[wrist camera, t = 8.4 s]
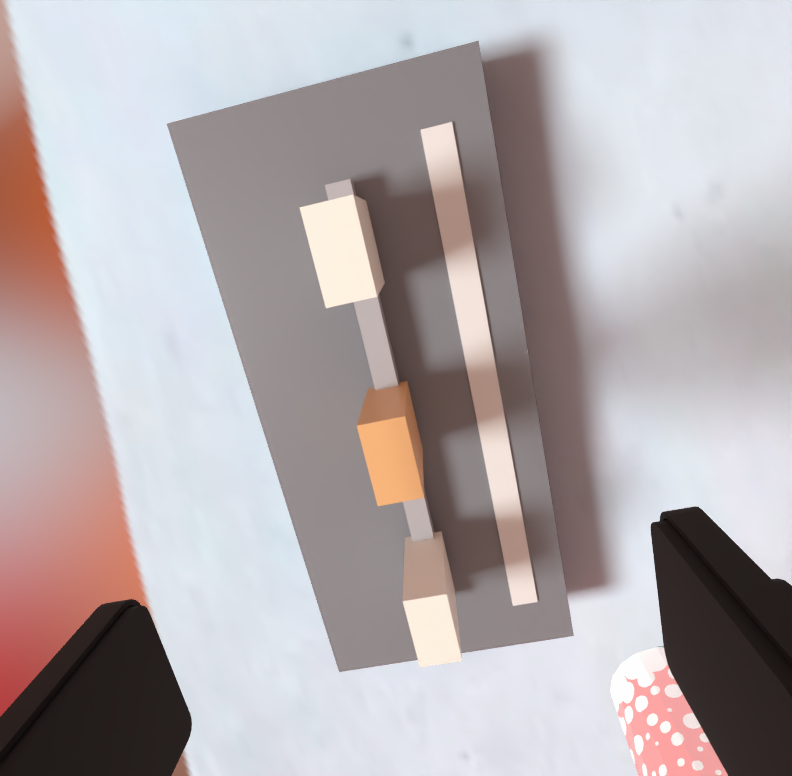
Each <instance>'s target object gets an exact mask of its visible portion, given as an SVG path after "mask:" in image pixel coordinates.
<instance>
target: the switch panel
mask: <svg viewBox="0 0 792 776" xmlns="http://www.w3.org/2000/svg"><path fill="white" fill-rule="evenodd" d="M167 126H168V129H169V132H170V135H171V138H172V142H173V145H174V148H175V151H176V154H177V158H178V161H179V164H180V167H181V170H182V173H183V177H184V180H185V183H186V186H187V189H188V192H189V196H190V199H191V202H192V205H193V208H194V212H195V215H196V218H197V221H198V224H199V227H200V231H201V234H202V237H203V240H204V243H205V247H206V250H207V253H208V256H209V259H210V262H211V266H212V269H213V272H214V275H215V278H216V282H217V285H218V288H219V291H220V294H221V297H222V301H223V304H224V307H225V310H226V313H227V317H228V320H229V323H230V326H231V329H232V332H233V336H234V339H235V342H236V345H237V348H238V351H239V355H240V358H241V361H242V364H243V367H244V371H245V374H246V377H247V380H248V383H249V386H250V390H251V393H252V396H253V399H254V402H255V406H256V409H257V412H258V415H259V418H260V421H261V425H262V428H263V431H264V434H265V437H266V441H267V444H268V447H269V450H270V453H271V456H272V460H273V463H274V466H275V469H276V472H277V475H278V479H279V482H280V485H281V488H282V491H283V495H284V498H285V501H286V504H287V507H288V510H289V514H290V517H291V520H292V523H293V526H294V530H295V533H296V536H297V539H298V542H299V545H300V549H301V552H302V555H303V558H304V561H305V565H306V568H307V571H308V574H309V577H310V580H311V584H312V587H313V590H314V593H315V596H316V600H317V603H318V606H319V609H320V612H321V615H322V619H323V622H324V625H325V628H326V631H327V634H328V638H329V641H330V644H331V647H332V650H333V654H334V657H335V660H336V663H337V666H338V669H339V672H342V671H348V670H355V669H361V668H368V667H374V666H381V665H387V664H394V663H400V662H407V661H413V660H418V658H417V654H416V651H415V647H414V643H413V639H412V635H411V632H410V628H409V624H408V620H407V616H406V612H405V609H404V605H403V578H404V551H405V538H406V537H411V533H410V529H409V525H408V521H407V517H406V513H405V509H404V505H403V502H399V503H393V504H388V505H382V506H378V505H377V502H376V498H375V494H374V490H373V486H372V483H371V479H370V475H369V471H368V467H367V463H366V460H365V456H364V452H363V448H362V444H361V441H360V437H359V433H358V429H357V423H358V420H359V416H360V413H361V410H362V406H363V403H364V400H365V396H366V393H367V390H368V389H369V388H374V383H373V379H372V375H371V371H370V367H369V363H368V359H367V355H366V351H365V347H364V343H363V339H362V334H361V330H360V326H359V322H358V318H357V314H356V310H355V306H354V302H352V303H347V304H343V305H338V306H334V307H329V308H326V307H325V303H324V299H323V295H322V292H321V288H320V284H319V280H318V276H317V272H316V269H315V265H314V261H313V257H312V253H311V250H310V246H309V242H308V238H307V234H306V230H305V227H304V223H303V219H302V215H301V211H300V207H304V206H308V205H312V204H316V203H320V202H324V201H328V197H327V193H326V188H325V185H327V184H331V183H335V182H339V181H343V180H347V179H351V180H352V181H353V183H354V187H355V192H356V196H357V197H359V198H361V199H363V200H365V201H366V202H367V207H368V211H369V215H370V220H371V224H372V229H373V233H374V237H375V242H376V246H377V250H378V255H379V259H380V264H381V268H382V272H383V277H384V281H385V284H384V285H383V287H382V289H381V291H380V293H379V295H380V299H381V304H382V308H383V312H384V317H385V321H386V325H387V330H388V334H389V338H390V342H391V347H392V351H393V355H394V360H395V364H396V368H397V373H398V377H399V381H400V382H403V381H407V382H408V386H409V391H410V395H411V400H412V404H413V408H414V413H415V417H416V422H417V426H418V430H419V435H420V439H421V444H422V448H423V476H424V489H425V493H426V498H427V502H428V506H429V510H430V515H431V519H432V523H433V528H434V532H439V531H442V536H443V540H444V544H445V549H446V553H447V558H448V562H449V566H450V571H451V575H452V580H453V584H454V588H455V597H456V607H457V616H458V626H459V635H460V645H461V653H465V652H472V651H478V650H485V649H491V648H498V647H504V646H511V645H517V644H524V643H530V642H537V641H543V640H550V639H556V638H563V637H569V636H573V629H572V623H571V617H570V611H569V604H568V598H567V592H566V586H565V579H564V573H563V567H562V561H561V554H560V548H559V542H558V536H557V529H556V523H555V517H554V510H553V504H552V498H551V492H550V485H549V479H548V473H547V467H546V460H545V454H544V448H543V442H542V435H541V429H540V423H539V417H538V410H537V404H536V398H535V392H534V385H533V379H532V373H531V367H530V360H529V354H528V348H527V341H526V335H525V329H524V323H523V316H522V310H521V304H520V298H519V291H518V285H517V279H516V273H515V266H514V260H513V254H512V248H511V241H510V235H509V229H508V223H507V216H506V210H505V204H504V198H503V191H502V185H501V179H500V173H499V166H498V160H497V154H496V147H495V141H494V135H493V129H492V122H491V116H490V110H489V104H488V97H487V91H486V85H485V79H484V72H483V66H482V60H481V54H480V47H479V41H476V42H472V43H468V44H465V45H461V46H457V47H453V48H450V49H446V50H442V51H438V52H435V53H431V54H427V55H423V56H420V57H416V58H412V59H408V60H405V61H401V62H397V63H393V64H390V65H386V66H382V67H378V68H375V69H371V70H367V71H363V72H360V73H356V74H352V75H348V76H345V77H341V78H337V79H333V80H330V81H326V82H322V83H318V84H315V85H311V86H307V87H303V88H300V89H296V90H292V91H288V92H285V93H281V94H277V95H273V96H270V97H266V98H262V99H258V100H255V101H251V102H247V103H243V104H240V105H236V106H232V107H228V108H225V109H221V110H217V111H213V112H209V113H206V114H202V115H198V116H194V117H191V118H187V119H183V120H179V121H176V122H172V123H168V124H167Z"/></svg>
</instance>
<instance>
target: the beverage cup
mask: <svg viewBox="0 0 792 776" xmlns="http://www.w3.org/2000/svg"><path fill="white" fill-rule="evenodd" d="M610 692H611V695H612V698H613V701H614V704H615V707H616V710H617V713H618V716H619V719H620V722H621V725H622V728H623V731H624V734H625V737H626V740H627V743H628V746H629V748H630V751H631V754H632V757H633V760H634V763H635V766H636V769H637V772H638V775H639V776H728V774H727V773H726V771H725V769H724V767H723V765H722V764H721V762H720V760H719V758H718V756H717V755H716V753H715V751H714V749H713V747H712V746H711V744H710V742H709V740H708V738H707V737H706V735H705V733H704V731H703V729H702V728H701V726H700V724H699V722H698V720H697V719H696V717H695V715H694V713H693V711H692V710H691V708H690V706H689V704H688V702H687V701H686V699H685V697H684V695H683V693H682V692H681V690H680V688H679V686H678V684H677V683H676V681H675V679H674V677H673V675H672V673H671V671H670V669H669V666H668V663H667V660H666V656H665V651H664V647H655V648H651V649H648V650H644V651H641V652H637V653H636V654H634V655H633V656H631V657H630V658H629V659H627V660H626V661H624V662H623V663H622V664H621V665H620V667H619V668H618V669H617V671H616V672H615V674H614V675H613V677H612V683H611V690H610Z"/></svg>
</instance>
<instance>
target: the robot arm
mask: <svg viewBox="0 0 792 776" xmlns="http://www.w3.org/2000/svg"><path fill="white" fill-rule="evenodd" d="M651 536H652V545H653V554H654V563H655V572H656V581H657V589H658V598H659V607H660V616H661V625H662V634H663V643H664V651H665V656H666V660H667V663H668V666H669V669H670V671H671V673H672V675H673V677H674V679H675V681H676V683H677V684H678V686H679V688H680V690H681V692H682V693H683V695H684V697H685V699H686V701H687V702H688V704H689V706H690V708H691V710H692V711H693V713H694V715H695V717H696V719H697V720H698V722H699V724H700V726H701V728H702V729H703V731H704V733H705V735H706V737H707V738H708V740H709V742H710V744H711V746H712V747H713V749H714V751H715V753H716V755H717V756H718V758H719V760H720V762H721V764H722V765H723V767H724V769H725V771H726V773H727V774H728V776H792V586H791V585H790V584H789V583H787V582H786V581H784V580H781V579H771V578H770V577H769V576H768V575H767V574H766V573H765V572H764V571H763V570H762V569H761V568H760V567H759V566H758V565H757V564H756V563H755V562H754V561H753V560H752V559H751V558H750V557H749V556H748V555H747V554H746V553H745V552H744V551H743V550H742V549H741V548H740V547H739V546H738V545H737V544H736V543H735V542H734V541H733V540H732V539H731V538H730V537H729V536H728V535H727V534H726V533H725V532H724V531H723V530H722V529H721V528H720V527H719V526H718V525H717V524H716V523H715V522H714V521H713V520H712V519H711V518H710V517H709V516H708V515H707V514H706V513H705V512H704V511H703V510H702V509H700V508H699V507H690V508H684V509H678V510H672V511H666V512H662V513H661V516H660V521H659V522H653V523H652V524H651ZM191 727H192V721H191V715H190V712H189V710H188V707H187V705H186V702H185V700H184V698H183V695H182V693H181V690H180V688H179V685H178V683H177V680H176V678H175V675H174V673H173V670H172V668H171V665H170V663H169V660H168V658H167V655H166V653H165V650H164V648H163V645H162V643H161V640H160V638H159V635H158V633H157V630H156V628H155V625H154V623H153V620H152V618H151V615H150V613H149V611H148V609H147V608H146V607H145V606H141V605H140V603H139V602H137V601H136V600H132V599H130V600H124V601H118V602H111V603H106V604H102V605H101V606H99V607H98V608H97V609H96V610H95V611H94V612H93V614H92V615H91V616H90V617H89V618H88V619H87V620H86V621H85V622H84V624H83V625H82V626H81V627H80V628H79V629H78V630H77V631H76V633H75V634H74V635H73V636H72V637H71V638H70V639H69V641H68V642H67V643H66V644H65V645H64V646H63V647H62V648H61V650H60V651H59V652H58V653H57V654H56V655H55V656H54V657H53V658H52V660H51V661H50V662H49V663H48V664H47V665H46V666H45V667H44V669H43V670H42V671H41V672H40V673H39V674H38V675H37V677H36V678H35V679H34V680H33V681H32V682H31V683H30V684H29V685H28V687H27V688H26V689H25V690H24V691H23V692H22V693H21V694H20V696H19V697H18V698H17V699H16V700H15V701H14V702H13V703H12V704H11V706H10V707H9V708H8V709H7V710H6V711H5V713H3V715H2V716H1V717H0V776H171V775H172V773H173V771H174V769H175V767H176V765H177V763H178V761H179V758H180V756H181V754H182V752H183V750H184V748H185V746H186V744H187V742H188V739H189V737H190V733H191Z"/></svg>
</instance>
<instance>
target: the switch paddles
mask: <svg viewBox="0 0 792 776" xmlns="http://www.w3.org/2000/svg"><path fill="white" fill-rule="evenodd" d="M325 188H326V193H327V197H328V201H324V202H320V203H316V204H312V205H308V206H304V207H300V211H301V215H302V219H303V223H304V227H305V230H306V234H307V238H308V242H309V246H310V250H311V253H312V257H313V261H314V265H315V269H316V272H317V276H318V280H319V284H320V288H321V292H322V295H323V299H324V303H325V307H326V308H329V307H334V306H338V305H343V304H347V303H352V302H354V306H355V310H356V314H357V318H358V322H359V326H360V330H361V334H362V339H363V343H364V347H365V351H366V355H367V359H368V363H369V367H370V371H371V375H372V379H373V383H374V388H369V389H368V390H367V393H366V396H365V400H364V403H363V406H362V410H361V413H360V416H359V420H358V423H357V429H358V433H359V437H360V441H361V444H362V448H363V452H364V456H365V460H366V463H367V467H368V471H369V475H370V479H371V483H372V486H373V490H374V494H375V498H376V502H377V505H378V506H382V505H388V504H393V503H399V502H403V505H404V509H405V513H406V517H407V521H408V525H409V529H410V533H411V537H406V538H405V551H404V578H403V605H404V609H405V612H406V616H407V620H408V624H409V628H410V632H411V635H412V639H413V643H414V647H415V651H416V654H417V658H418V662H419V666H420V667H425V666H431V665H438V664H444V663H451V662H458V661H462V655H461V645H460V635H459V626H458V616H457V607H456V597H455V588H454V584H453V580H452V575H451V571H450V566H449V562H448V558H447V553H446V549H445V544H444V540H443V536H442V531H439V532H434V528H433V523H432V519H431V515H430V510H429V506H428V502H427V498H426V493H425V489H424V476H423V448H422V444H421V439H420V435H419V430H418V426H417V422H416V417H415V413H414V408H413V404H412V400H411V395H410V391H409V386H408V382H407V381H403V382H400V381H399V377H398V373H397V368H396V364H395V360H394V355H393V351H392V347H391V342H390V338H389V334H388V330H387V325H386V321H385V317H384V312H383V308H382V304H381V299H380V295H379V293H380V291H381V289H382V287H383V285H384V284H385V281H384V277H383V272H382V268H381V264H380V259H379V255H378V250H377V246H376V242H375V237H374V233H373V229H372V224H371V220H370V215H369V211H368V207H367V202H366V201H365V200H363V199H361V198H359V197H357V196H356V192H355V187H354V183H353V181H352V180H351V179H347V180H343V181H339V182H335V183H331V184H327V185H325Z"/></svg>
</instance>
